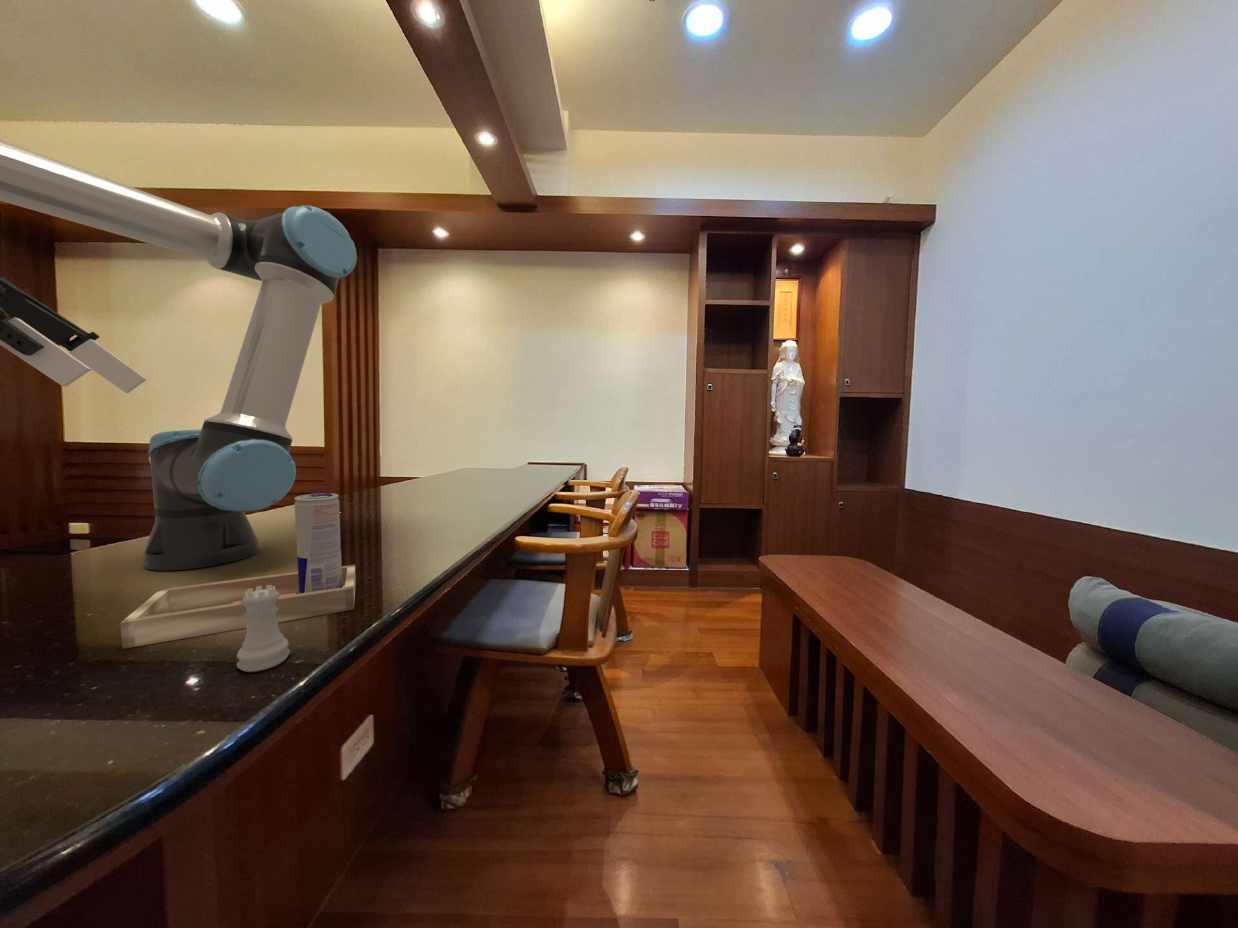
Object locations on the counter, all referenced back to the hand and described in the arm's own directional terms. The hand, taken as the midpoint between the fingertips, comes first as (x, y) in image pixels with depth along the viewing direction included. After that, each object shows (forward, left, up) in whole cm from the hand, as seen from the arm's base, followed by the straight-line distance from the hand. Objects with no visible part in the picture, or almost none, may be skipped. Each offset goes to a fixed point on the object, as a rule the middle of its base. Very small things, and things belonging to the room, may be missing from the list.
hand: (110, 382), depth 51 cm
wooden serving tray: (+2, +13, -30) cm, 32 cm away
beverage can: (+2, +20, -30) cm, 36 cm away
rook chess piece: (+18, +16, -30) cm, 38 cm away
